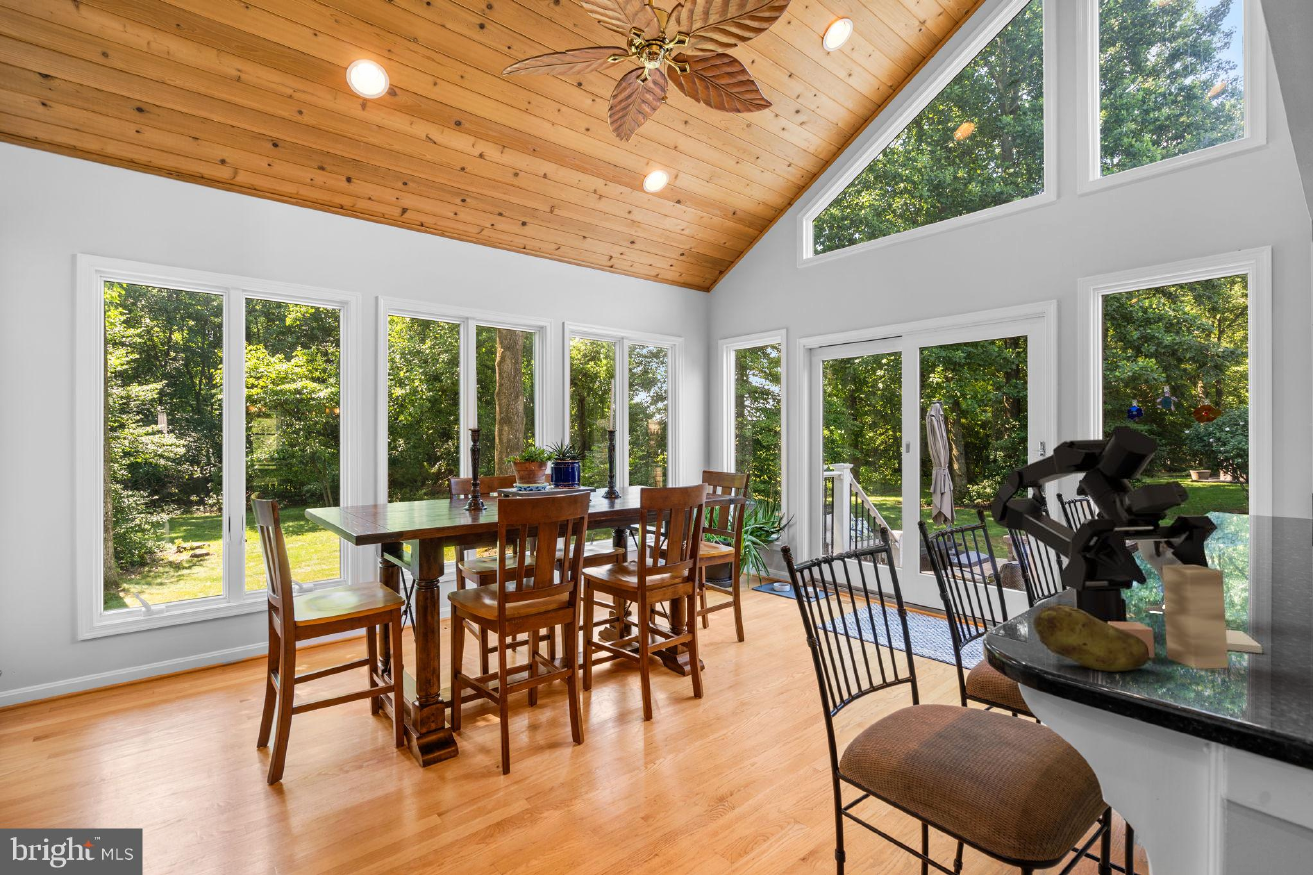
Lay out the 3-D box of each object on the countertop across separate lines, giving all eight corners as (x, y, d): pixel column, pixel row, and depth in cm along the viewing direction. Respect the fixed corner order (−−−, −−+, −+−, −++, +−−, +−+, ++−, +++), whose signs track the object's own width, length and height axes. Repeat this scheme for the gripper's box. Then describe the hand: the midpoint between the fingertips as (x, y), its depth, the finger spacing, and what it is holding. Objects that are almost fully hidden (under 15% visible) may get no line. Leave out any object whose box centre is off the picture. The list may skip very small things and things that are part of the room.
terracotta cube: (1122, 656, 89) (1120, 628, 90) (1109, 648, 93) (1107, 621, 93) (1154, 657, 89) (1153, 629, 89) (1139, 649, 92) (1138, 622, 93)
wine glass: (1209, 616, 108) (1204, 529, 108) (1163, 617, 108) (1158, 530, 108) (1172, 605, 116) (1167, 524, 116) (1129, 606, 116) (1124, 525, 116)
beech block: (1167, 657, 88) (1162, 565, 88) (1199, 656, 88) (1193, 564, 88) (1194, 668, 84) (1189, 571, 84) (1228, 667, 84) (1222, 570, 84)
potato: (1149, 685, 79) (1145, 621, 79) (1031, 666, 87) (1028, 608, 87) (1150, 666, 85) (1147, 607, 85) (1041, 650, 93) (1038, 596, 93)
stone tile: (1189, 646, 92) (1189, 639, 92) (1175, 632, 100) (1175, 625, 100) (1261, 653, 89) (1261, 646, 89) (1241, 637, 96) (1241, 631, 96)
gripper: (1079, 466, 95) (1139, 550, 83) (1202, 462, 95) (1279, 545, 83) (1049, 513, 102) (1101, 595, 91) (1163, 509, 102) (1228, 591, 91)
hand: (1176, 581), depth 89 cm, fingers open, 9 cm apart
